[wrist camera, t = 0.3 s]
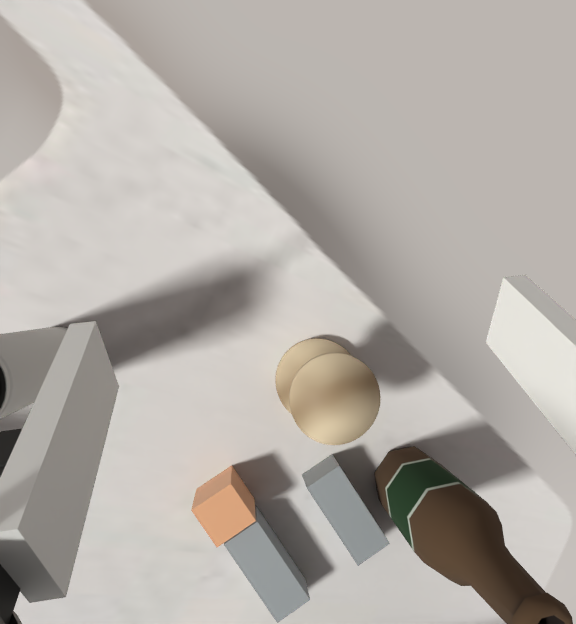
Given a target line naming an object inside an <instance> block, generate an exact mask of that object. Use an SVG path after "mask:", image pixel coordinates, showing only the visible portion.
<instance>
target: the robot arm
mask: <svg viewBox="0 0 576 624" xmlns="http://www.w3.org/2000/svg"><path fill="white" fill-rule="evenodd" d="M486 343H487V344H488V345H489V347H490V348H491V349H492V351H493V352H494V353H495V354H496V356H497V357H498V358H499V359H500V361H501V362H502V363H503V364H504V366H505V367H506V368H507V370H509V372H510V373H511V374H512V376H513V377H514V378H515V380H516V381H517V382H518V383H519V385H520V386H521V387H522V388H523V389H524V391H525V392H526V393H527V394H528V396H529V397H530V398H531V400H532V401H533V402H534V403H535V405H536V406H537V407H538V408H539V410H540V411H541V412H542V414H543V415H544V416H545V417H546V418H547V420H548V421H549V422H550V424H551V425H552V426H553V427H554V429H555V430H556V431H557V432H558V433H559V435H560V436H561V437H562V439H563V440H564V441H565V442H566V444H567V445H568V446H569V447H570V449H571V450H572V451H573V452H574V454H575V455H576V319H575V318H574V317H573V316H572V315H570V314H569V313H568V312H567V311H566V310H565V309H564V308H563V307H561V306H560V305H559V304H558V303H557V302H556V301H555V300H553V299H552V298H551V297H550V296H549V295H548V294H547V293H545V292H544V291H543V290H542V289H541V288H540V287H538V286H537V285H536V284H535V283H534V282H533V281H532V280H531V279H530V278H528V277H527V276H526V275H520V276H511V277H503V281H502V285H501V288H500V292H499V296H498V299H497V304H496V307H495V311H494V314H493V318H492V322H491V326H490V329H489V333H488V337H487V340H486ZM118 388H119V385H118V382H117V380H116V377H115V374H114V371H113V368H112V365H111V363H110V360H109V357H108V354H107V351H106V348H105V346H104V343H103V340H102V337H101V334H100V331H99V329H98V326H97V323H96V321H92V322H82V323H73V324H70V325H69V327H68V329H67V331H66V334H65V336H64V338H63V340H62V343H61V345H60V347H59V349H58V351H57V354H56V356H55V358H54V360H53V362H52V365H51V367H50V369H49V371H48V373H47V376H46V378H45V380H44V382H43V384H42V387H41V389H40V391H39V393H38V395H37V398H36V400H35V402H34V404H33V406H32V409H31V411H30V413H29V415H28V417H27V420H26V422H25V424H24V426H23V428H22V429H17V430H9V431H1V432H0V624H22V623H21V621H20V619H19V618H18V616H17V614H16V613H15V612H14V611H13V610H14V607H15V604H16V601H17V598H18V595H19V592H21V593H22V594H23V595H24V596H25V598H26V599H27V600H28V601H29V603H31V602H38V601H44V600H50V599H57V598H63V597H66V594H67V591H68V587H69V583H70V579H71V575H72V571H73V567H74V563H75V559H76V555H77V551H78V547H79V543H80V539H81V535H82V531H83V527H84V523H85V519H86V515H87V511H88V507H89V503H90V499H91V495H92V491H93V487H94V483H95V479H96V475H97V471H98V468H99V464H100V460H101V456H102V452H103V448H104V444H105V440H106V436H107V432H108V428H109V424H110V420H111V416H112V412H113V408H114V404H115V400H116V396H117V392H118Z"/></svg>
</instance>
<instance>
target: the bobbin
mask: <svg viewBox="0 0 576 624" xmlns="http://www.w3.org/2000/svg"><path fill="white" fill-rule="evenodd" d="M276 389H277V393H278V395H279V398H280V400H281V402H282V404H283V405H284V407H285V408H286V409H287V410H288V411H289V412H290V413H291V414H292V415H293V418H294V420H295V422H296V424H297V425H298V427H299V428H300V429H301V431H302V432H303V433H304V434H306V435H307V436H308V437H309V438H311V439H313V440H315V441H317V442H319V443H323V444H328V445H340V444H345V443H349V442H351V441H354V440H356V439H357V438H359V437H361V436H362V435H363V434H364V433H365V432H366V431H367V430H368V429H369V428H370V427H371V426H372V424H373V422H374V421H375V419H376V417H377V414H378V411H379V407H380V390H379V385H378V383H377V380H376V378H375V376H374V374H373V373H372V371H371V370H370V369H369V368H368V367H367V366H366V365H365V364H364V363H363V362H361V361H360V360H358V359H356V358H354V357H352V356H351V355H350V353H349V352H348V351H347V350H346V349H344V348H343V347H342V346H340V345H339V344H337V343H334V342H332V341H330V340H326V339H320V338H314V339H308V340H304V341H301V342H299V343H297V344H295V345H294V346H293V347H291V348H290V349H289V350H288V351H287V352H286V353H285V354H284V356H283V357H282V359H281V360H280V362H279V365H278V368H277V371H276Z"/></svg>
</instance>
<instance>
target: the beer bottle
mask: <svg viewBox="0 0 576 624" xmlns="http://www.w3.org/2000/svg"><path fill="white" fill-rule="evenodd" d="M375 480H376V486H377V492H378V498H379V500H380V502H381V504H382V506H383V507H384V509H385V510H386V511H387V513H388V514H389V516H390V517H391V519H392V520H393V522H394V523H395V524H396V526H397V527H398V529H399V530H400V532H401V533H402V535H403V536H404V538H405V539H406V540H407V542H408V543H409V545H410V546H411V548H412V549H413V551H414V552H415V553H416V554H417V555H418V556H419V558H420V559H421V560H422V561H423V562H424V563H425V564H427V565H428V566H430V567H431V568H433V569H434V570H436V571H437V572H439V573H440V574H442V575H443V576H445V577H446V578H448V579H449V580H451V581H453V582H455V583H457V584H459V585H460V586H472V587H473V588H474V589H475V591H476V592H477V593H478V594H479V595H480V596H481V597H482V598H483V599H484V600H485V601H486V602H487V603H488V604H489V605H490V606H491V608H492V609H493V610H494V611H495V612H496V613H497V614H498V615H499V616H500V617H501V618H502V619H503V620H504V621H505V622H506V623H507V624H573V622H572V616H571V615H570V613H569V611H568V610H567V608H566V607H565V605H564V604H563V603H561V602H560V601H558V600H557V599H556V598H554V597H553V596H551V595H550V594H548V593H546V592H545V591H544V590H543V589H542V588H541V587H540V586H539V585H538V583H537V582H536V581H535V580H534V579H533V578H532V577H531V576H530V575H529V574H528V573H527V571H526V570H525V569H524V568H523V567H522V566H521V565H520V564H519V563H518V562H517V561H516V560H515V558H514V557H513V556H512V555H511V554H510V552H509V551H508V549H507V548H506V546H505V543H504V537H503V530H502V524H501V522H500V520H499V517H498V515H497V512H496V511H495V510H494V509H493V508H492V507H491V506H490V505H489V504H488V503H487V502H486V501H485V500H484V499H482V498H481V497H480V496H479V495H477V494H476V493H475V492H474V491H473V490H471V489H470V488H469V487H468V486H466V485H465V484H464V483H463V482H462V481H460V480H459V479H458V478H457V477H455V476H454V475H453V474H452V473H450V472H449V471H448V470H447V469H446V468H444V467H443V466H442V465H440V464H439V463H438V462H436V461H435V460H433V459H432V458H430V457H429V456H428V455H426V454H425V453H423V452H422V451H420V450H419V449H417V448H416V447H414V446H413V447H408V448H403V449H398V450H393V451H389V452H388V454H387V455H386V457H385V458H384V460H383V461H382V463H381V464H380V465H379V467H378V468H377V470H376V471H375Z"/></svg>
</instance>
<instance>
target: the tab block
mask: <svg viewBox="0 0 576 624" xmlns="http://www.w3.org/2000/svg"><path fill="white" fill-rule="evenodd" d="M192 512H193V513H194V515H195V516H196V518H197V519H198V521H199V522H200V524H201V525H202V527H203V528H204V529H205V531H206V532H207V534H208V535H209V537H210V538H211V540H212V541H213V543H214V544H215V545H216V547H218V546H220V545H221V544H223V543H224V542H226V541H227V540H229V539H230V538H232V537H233V536H235V535H236V534H237V533H239V532H240V531H242V530H243V529H245V528H246V527H248V526H249V525H251V524H252V523H254V522H255V521H256V515H255V500H254V498H253V496H252V495H251V493H250V492H249V490H248V489H247V487H246V486H245V484H244V483H243V481H242V480H241V478H240V477H239V475H238V474H237V472H236V471H235V469H234V468H233V466H230V467H229V468H227V469H226V470H224V471H223V472H221V473H220V474H218V475H217V476H215V477H214V478H212V479H211V480H209V481H208V482H206V483H205V484H203V485H202V486H200V487H199V488H197V489H196V493H195V497H194V501H193V506H192Z"/></svg>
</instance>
